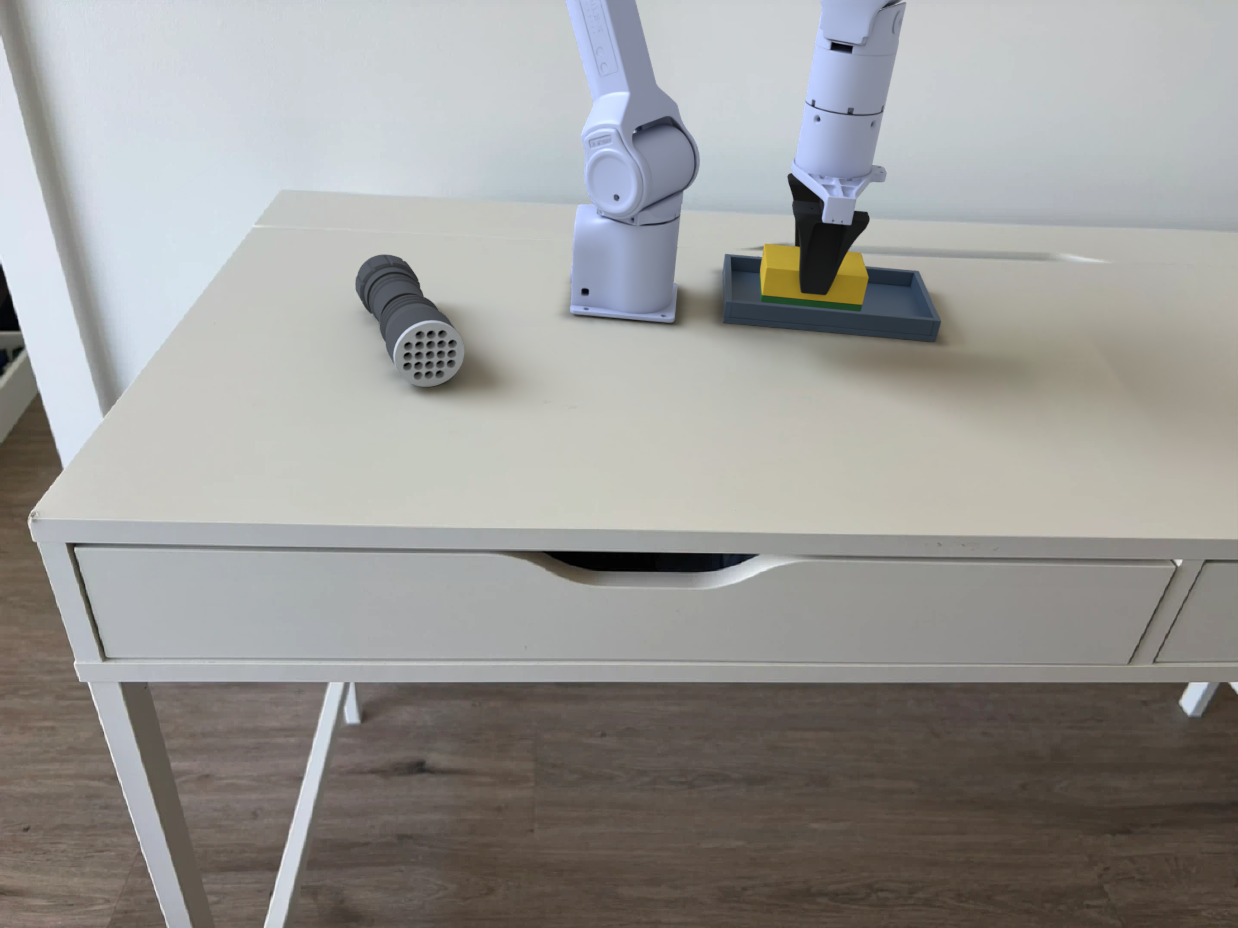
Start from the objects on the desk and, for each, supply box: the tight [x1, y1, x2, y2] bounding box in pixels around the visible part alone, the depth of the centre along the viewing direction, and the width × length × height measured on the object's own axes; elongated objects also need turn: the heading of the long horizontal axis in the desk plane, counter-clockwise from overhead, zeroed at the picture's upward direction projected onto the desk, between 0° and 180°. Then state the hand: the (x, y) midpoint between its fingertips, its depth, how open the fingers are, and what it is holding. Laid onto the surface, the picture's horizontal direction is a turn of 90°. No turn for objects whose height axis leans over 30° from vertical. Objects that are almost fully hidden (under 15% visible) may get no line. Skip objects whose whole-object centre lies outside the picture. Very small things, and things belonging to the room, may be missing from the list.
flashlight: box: [355, 253, 465, 388], centre depth 76 cm, size 15×5×5 cm, turn 25°
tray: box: [721, 253, 942, 343], centre depth 88 cm, size 19×11×2 cm, turn 85°
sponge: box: [759, 243, 869, 312], centre depth 75 cm, size 8×5×3 cm, turn 84°
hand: (810, 278), depth 75 cm, fingers closed on sponge, 5 cm apart
